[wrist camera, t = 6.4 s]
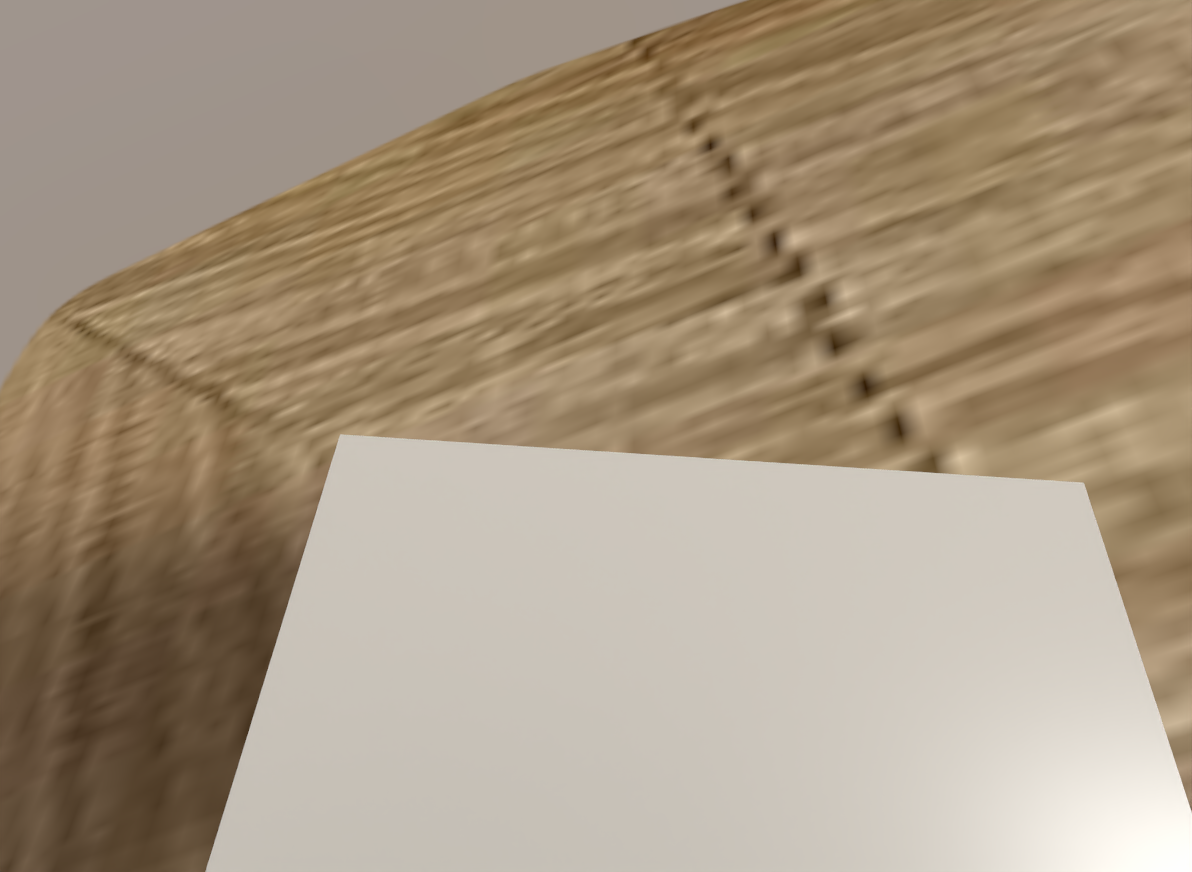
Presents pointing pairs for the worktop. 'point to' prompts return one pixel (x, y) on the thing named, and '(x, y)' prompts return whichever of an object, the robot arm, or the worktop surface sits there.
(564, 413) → the worktop surface
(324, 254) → the worktop surface
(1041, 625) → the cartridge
